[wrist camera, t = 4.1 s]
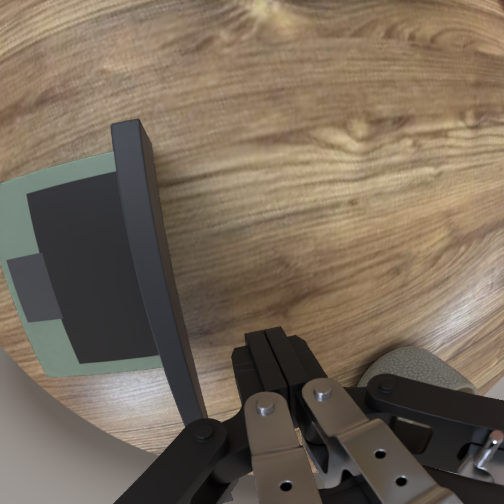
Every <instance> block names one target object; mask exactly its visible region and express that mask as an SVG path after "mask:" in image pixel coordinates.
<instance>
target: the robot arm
mask: <svg viewBox="0 0 504 504" xmlns="http://www.w3.org/2000/svg"><path fill="white" fill-rule="evenodd" d="M244 335H245V343H246V346H242V347H236V348H234V350H233V353H232V356H231V358H232V364H233V369H234V374H235V380H236V385H237V389H238V393H239V396H240V400H241V404H242V407H241V409H240V411H239V412H238V413H237V414H236V415H235V416H234V417H232V418H230V419H228V420H226V421H224V422H222V423H221V422H220V421H218V420H215V419H211V418H203V419H198V420H195V421H193V422H191V423H190V424H188V425H187V426H186V427H185V428H184V429H183V431H182V432H181V433H180V434H179V435H178V436H177V437H176V438H175V439H174V441H173V442H172V443H171V444H170V445H169V446H168V447H167V448H166V449H165V450H164V452H163V453H162V454H161V455H160V456H159V457H158V458H157V459H156V460H155V461H154V462H153V463H152V465H150V467H149V468H148V469H147V470H146V471H145V472H144V473H143V474H142V475H141V476H140V477H139V478H138V479H137V480H136V481H135V482H134V483H133V484H132V485H131V486H130V487H129V488H128V490H126V492H124V494H123V495H121V496H120V497H119V498H118V500H116V502H115V503H113V504H223V503H224V501H225V500H226V499H227V497H228V496H229V494H230V493H231V491H232V490H233V488H234V487H235V486H236V484H237V482H238V480H239V478H240V477H242V476H244V475H246V474H248V473H250V472H252V471H253V474H254V480H255V486H256V491H257V497H258V502H259V504H504V401H503V400H499V399H494V398H488V397H484V396H479V395H475V394H470V393H466V392H461V391H457V390H452V389H448V388H444V387H440V386H436V385H432V384H428V383H424V382H420V381H416V380H413V379H409V378H405V377H401V376H398V375H394V374H389V373H384V374H378V375H376V376H374V377H372V378H371V379H370V380H369V381H368V384H367V386H366V387H353V388H348V387H342V386H341V384H340V383H338V382H337V381H335V380H333V379H329V378H328V377H327V375H326V374H325V372H324V370H323V369H322V367H321V366H320V364H319V362H318V361H317V359H316V358H315V356H314V354H313V353H312V351H311V350H310V348H309V347H308V345H307V343H306V342H305V340H303V339H301V338H300V337H298V336H296V335H294V336H289V337H287V336H286V334H285V332H284V331H283V329H282V327H281V326H279V327H274V328H269V329H265V330H263V331H262V330H260V331H255V332H250V333H245V334H244ZM398 417H400V418H404V419H407V420H411V421H414V422H418V423H421V424H425V425H428V426H430V428H426V427H422V426H419V425H415V424H412V423H408V422H405V421H402V420H398ZM298 427H299V428H300V430H301V433H302V443H303V445H304V447H305V449H306V451H307V452H308V454H309V456H310V458H311V460H312V461H313V463H314V465H315V467H316V468H317V470H318V472H319V474H320V475H321V477H322V479H323V482H324V485H325V489H318V488H317V485H316V482H315V479H314V476H313V473H312V470H311V466H310V463H309V460H308V457H307V454H306V451H305V449H304V447H303V446H300V444H299V441H298V437H297V434H296V431H295V428H298ZM436 468H437V469H436ZM440 469H441V470H440ZM443 470H445V471H443ZM447 471H449V472H447ZM450 472H453V473H450ZM454 473H457V474H454Z"/></svg>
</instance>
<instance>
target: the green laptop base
mask: <svg viewBox="0 0 504 504" xmlns="http://www.w3.org/2000/svg"><path fill="white" fill-rule="evenodd" d="M0 263H1V266H2V269H3V273H4V276H5V279H6V282H7V285H8V288H9V291H10V293H11V296H12V299H13V302H14V304H15V307H16V310H17V312H18V315H19V317H20V320H21V322H22V325H23V327H24V329H25V332H26V334H27V336H28V339H29V341H30V343H31V345H32V347H33V350H34V352H35V354H36V356H37V358H38V360H39V362H40V364H41V366H42V368H43V370H44V372H45V374H46V376H47V377H67V376H83V375H96V374H108V373H119V372H128V371H137V370H146V369H154V368H161V367H163V365H162V362H161V359H160V356H159V353H158V350H157V347H156V343H155V340H154V337H153V333H152V330H151V327H150V323H149V320H148V316H147V313H146V309H145V305H144V302H143V298H142V294H141V290H140V287H139V283H138V279H137V274H136V270H135V266H134V262H133V258H132V253H131V249H130V244H129V239H128V235H127V230H126V225H125V220H124V214H123V209H122V203H121V198H120V192H119V186H118V180H117V173H116V166H115V159H114V152H113V151H112V152H108V153H103V154H99V155H95V156H91V157H87V158H83V159H79V160H75V161H71V162H67V163H63V164H60V165H56V166H53V167H49V168H46V169H43V170H39V171H36V172H33V173H29V174H26V175H23V176H20V177H17V178H14V179H11V180H8V181H5V182H2V183H0Z"/></svg>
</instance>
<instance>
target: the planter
mask: <svg viewBox="0 0 504 504" xmlns="http://www.w3.org/2000/svg"><path fill="white" fill-rule="evenodd" d="M384 373H389V374H394V375H398V376H401V377H405V378H409V379H413V380H416V381H420V382H424V383H428V384H432V385H436V386H440V387H444V388H448V389H452V390H457V391H461V392H466V393H470V394H475V395H477V389H476V387H475V386H474V385H473V384H472V383H471V382H470V381H469V380H468V379H466V378H465V377H464V376H463V375H462V374H460V373H459V372H458V371H456V370H455V369H454V368H452V367H451V366H450V365H448V364H447V363H446V362H444V361H443V360H441V359H440V358H438V357H437V356H435V355H434V354H432V353H431V352H429V351H427V350H425V349H423V348H420V347H415V346H407V347H401V348H398V349H395V350H392V351H390V352H388V353H386V354H385V355H383V356H382V357H380V358H379V359H378V360H376V361H375V362H374V363H373V364H372V365H371V366H370V367H369V368H368V369H367V371H366V372H365V373H364V375H363V376H362V378H361V379H360V381H359V383H358V386H357V387H366V386H367V384H368V381H369V380H370V379H371V378H372V377H374V376H376V375H378V374H384ZM398 420H402V421H405V422H408V423H412V424H415V425H419V426H422V427H426V428H430V426H428V425H425V424H421V423H418V422H414V421H411V420H407V419H404V418H400V417H398Z"/></svg>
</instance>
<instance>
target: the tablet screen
mask: <svg viewBox="0 0 504 504" xmlns="http://www.w3.org/2000/svg"><path fill="white" fill-rule="evenodd" d="M111 136H112V144H113V152H114V159H115V166H116V173H117V180H118V186H119V192H120V198H121V203H122V209H123V214H124V220H125V225H126V230H127V235H128V239H129V244H130V249H131V253H132V258H133V262H134V266H135V270H136V274H137V279H138V283H139V287H140V290H141V294H142V298H143V302H144V305H145V309H146V313H147V316H148V320H149V323H150V327H151V330H152V333H153V337H154V340H155V343H156V347H157V350H158V353H159V356H160V359H161V362H162V365H163V368H164V371H165V374H166V377H167V380H168V383H169V386H170V388H171V391H172V394H173V397H174V399H175V402H176V405H177V408H178V410H179V413H180V415H181V418H182V421H183V423H184V426H185V427H186V426H187V425H188V424H190V423H191V422H193V421H195V420H198V419H203V418H208V415H207V411H206V407H205V404H204V400H203V396H202V392H201V388H200V384H199V380H198V376H197V372H196V368H195V363H194V359H193V356H192V352H191V348H190V344H189V340H188V336H187V332H186V328H185V324H184V319H183V315H182V311H181V306H180V302H179V297H178V293H177V288H176V284H175V279H174V274H173V269H172V264H171V259H170V254H169V249H168V244H167V238H166V233H165V227H164V222H163V216H162V210H161V204H160V197H159V191H158V185H157V178H156V171H155V164H154V156H153V149H152V143H151V141H150V139H149V138H148V136H147V134H146V132H145V130H144V128H143V126H142V124H141V122H140V120H139V119H133V120H128V121H123V122H118V123H113V124H111ZM229 501H233V497H232V494H231V493H230V494H229V496H228V497H227V499H226V500H225V501H224V503H225V502H229Z"/></svg>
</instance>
